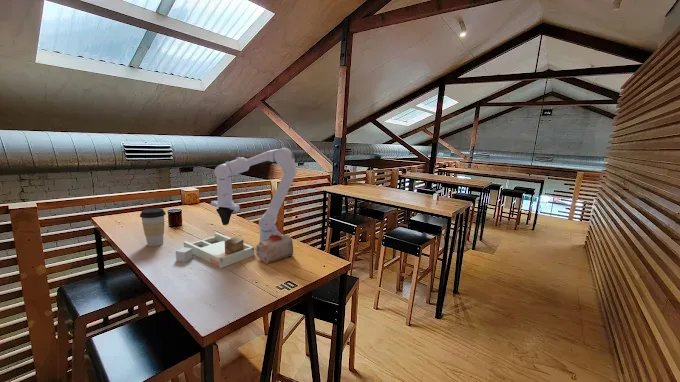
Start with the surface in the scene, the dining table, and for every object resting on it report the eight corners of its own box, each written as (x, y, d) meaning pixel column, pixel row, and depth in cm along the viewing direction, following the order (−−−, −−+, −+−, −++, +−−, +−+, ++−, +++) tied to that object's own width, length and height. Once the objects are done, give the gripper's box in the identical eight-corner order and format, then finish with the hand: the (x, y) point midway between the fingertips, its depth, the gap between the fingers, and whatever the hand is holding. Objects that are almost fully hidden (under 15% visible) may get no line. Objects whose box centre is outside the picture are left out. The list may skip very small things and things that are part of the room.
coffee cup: (147, 249, 121) (144, 214, 118) (138, 243, 127) (135, 210, 124) (172, 243, 129) (169, 210, 126) (162, 238, 134) (159, 206, 131)
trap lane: (254, 255, 121) (254, 247, 120) (221, 267, 109) (220, 259, 108) (216, 239, 135) (216, 232, 135) (184, 249, 123) (183, 241, 122)
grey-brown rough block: (265, 266, 112) (265, 241, 110) (254, 259, 117) (254, 236, 115) (294, 257, 121) (295, 234, 119) (283, 251, 127) (283, 229, 125)
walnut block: (243, 251, 120) (243, 239, 119) (236, 255, 115) (235, 243, 114) (232, 249, 121) (232, 237, 120) (225, 253, 116) (224, 241, 115)
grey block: (192, 258, 116) (192, 248, 115) (185, 262, 112) (184, 252, 111) (184, 256, 117) (183, 247, 116) (176, 260, 113) (175, 250, 112)
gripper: (244, 193, 123) (245, 225, 125) (219, 189, 129) (221, 219, 132) (231, 196, 116) (232, 229, 119) (206, 192, 123) (207, 223, 125)
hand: (225, 224), depth 125 cm, fingers closed
